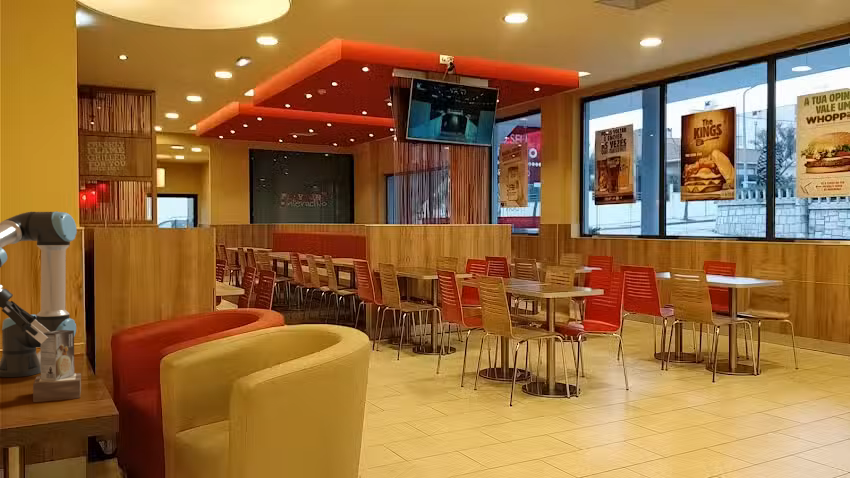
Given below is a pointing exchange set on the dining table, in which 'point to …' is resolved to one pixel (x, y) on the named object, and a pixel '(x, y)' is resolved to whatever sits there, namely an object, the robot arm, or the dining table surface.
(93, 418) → the dining table surface
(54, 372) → the coffee box
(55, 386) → the pedestal
